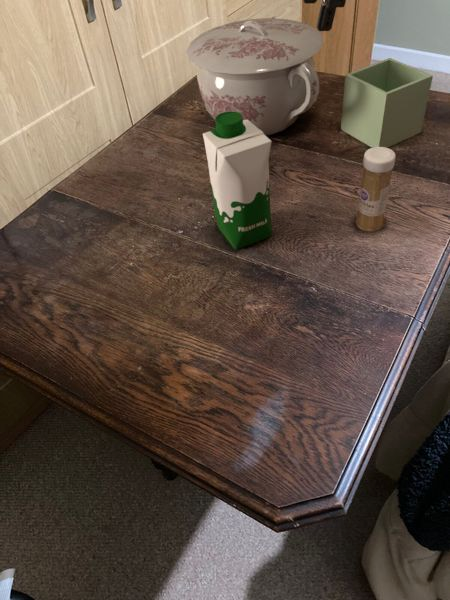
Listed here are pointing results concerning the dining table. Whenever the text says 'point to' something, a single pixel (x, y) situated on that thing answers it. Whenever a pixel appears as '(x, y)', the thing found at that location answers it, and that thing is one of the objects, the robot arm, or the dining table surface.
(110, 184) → the dining table surface
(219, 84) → the chamber pot
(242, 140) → the milk carton
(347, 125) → the bin
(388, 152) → the sprinkles bottle
